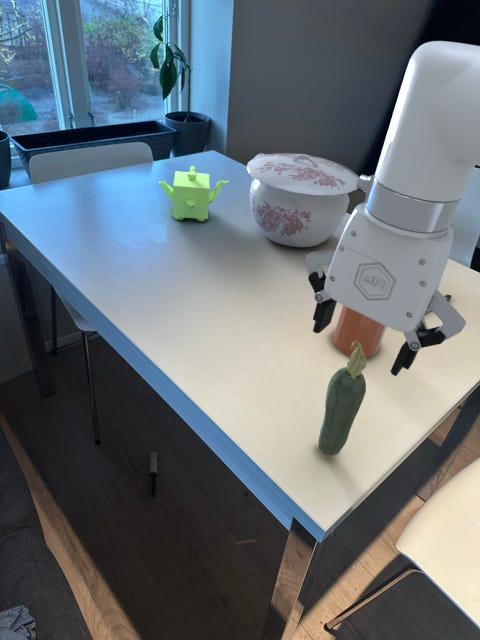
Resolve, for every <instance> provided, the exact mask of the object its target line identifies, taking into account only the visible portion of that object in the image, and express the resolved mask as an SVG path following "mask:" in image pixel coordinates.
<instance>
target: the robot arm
mask: <svg viewBox="0 0 480 640" xmlns="http://www.w3.org/2000/svg"><path fill="white" fill-rule="evenodd" d="M476 166H478V167H480V45H476V44H469V43H462V42H455V41H445V40H433V41H428V42H425V43H423V44H421V45H420V46H418V48H416V49H415V50H414V52H413V53H412V55H411V57H410V58H409V61H408V64H407V67H406V69H405V73H404V76H403V79H402V83H401V86H400V89H399V93H398V96H397V99H396V103H395V106H394V110H393V112H392V117H391V120H390V123H389V127H388V130H387V133H386V136H385V139H384V143H383V146H382V149H381V153H380V156H379V160H378V162H377V166H376V170H375V173H374V174H372V175H369V176H368V175H366V174H360V175H359V176H358V177H359V179H358V181H357V186H356V187H357V188H358V189H357V190H361V191H362V192H363V193H365V197H364V201H363V202H362V203H359V204H357V205H356V206H355V207H354V209H353V210H352V212H351V214H350V216H349V219H348V221H347V223H346V225H345V227H344V229H343V232H342V234H341V236H340V239H339V240H338V241H339V242H338V244H337V246H336V249H332V250H320V251H319V250H318V251H311V252H310V253H308V254H307V255H306V256H305V257H304V261H305V266H306V270H307V273H308V276H307V279H308V282H309V285H310V286H311V288H312V290H313V292H314V296H313V297H314V301H315V302H316V305H315V308H314V313H313V317H312V320H313V321H314V325H313V327H312V328H313V329H312V332H313V333H315V334H320V333H322V332H323V331H324V330H325V329H326V328H327V327H328V326H329V325H331V323H332V320H333V316H334V314H335V313H334V312H335V310H336V306H337V303H339V304H340V305H342V306H343V305H344V306H346V307H348V308H350V309H352V310H354V311H356V312H358V313H360V314H362V315H364V316H366V317H368V318H370V319H372V320H374V321H376V322H378V323H381V324H383V325H385V326H387V327H386V328H388V329H391V330H394V331H396V332H400V333H403V335H404V338H405V341H404V342H403V344H402V345H401V347H400V348H399V351H398V353H397V355H396V358H395V360H394V362H393V364H392V367H391V369H390V374H391V375H392V376H394V377H397V376H398V375H399V373H400V372H401V371H402V369H405V370H407V371H409V369H410V368H411V366H413V363H414V361H415V360H416V358H417V355H418V353H419V351H420V350H421V349H424V348H428V347H433V346H438V345H442V344H443V342H445V341H447V340H449V339H451V338H452V337H454V336H456V335H458V334H459V333H461V332H462V331H463V330H464V328H465V327H466V325H467V321H466V319H465V318H464V317H463V316H462V315H461V314H460V313H459V311H458V310H456V308H455V307H454V306H453V305H452V304H451V303H450V302H449V300H446V299H445V298H444V297H445V295H443V294H442V293H441V292H440V291H439V287H440V285H441V281H442V278H443V276H444V273H445V269H446V267H447V265H448V261H449V257H450V254H451V250H452V244H453V240H454V233H455V232H454V229H453V228H452V227H451V226H450V225H451V222H452V220H453V218H454V216H455V213H456V211H457V209H458V206H459V205H460V203H461V199H462V197H463V194H464V193H465V190H466V187H467V186H468V184H469V181H470V179H471V176H472V174H473V171H474V169H475V167H476ZM323 266H329V267H328V271H327V274H326V273H325V271H324V270H323ZM429 308H430V309H431V311H432V313H433V314H434V315H435V316H436V317H437V318H438V319H439V321H441V322H442V325H439V326H435V327H431V328H428V325H427V322H426V319H425V315H426V314H427V313H429V312H428V310H429Z"/></svg>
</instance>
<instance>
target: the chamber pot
mask: <svg viewBox="0 0 480 640" xmlns="http://www.w3.org/2000/svg"><path fill="white" fill-rule="evenodd" d="M246 170H247V171H248V173H249V175H250V179H251V184H250V190H249V207H250V208H249V209H250V214H251V216H252V218H253V220H254V222H255V224H256V227H257V228H258V230H259V232H260V233H261V234H262V235H263V236H264V237H265V238H266V239H268V240H269V241H271V242H274V243H276V244H279V245H283V246H287V247H292V248H293V247H294V248H310V247H315V246H318V245H320V244H322V243H324V242H326V241H327V240H328V239H329V238H330V237H331V236H332V235H333V234H334V233H336V231H337V230H338V229H339V228H340V227H341V224H342V222H343V220H344V218H345V216H346V214H347V212H348V209H349V205H350V202H351V200H350V196H349V193H350V194H351V192H353V191H356V190H359V189H358V188H357V187H356V186H357V181H358V179H359V177H360V176H359V175H358V174H357V173H356V172H354V171H353V170H352V169H351V168H349V167H346V166H344V165H343V164H341V163H338V162H336V161H333V160H330V159H327V158H324V157H319V156H315V155H311V154H305V153H295V152H278V153H267V154H265V153H263V152H262V153H259V154H256V155H255V157H253V158H252V159H251V160H249V161H247V165H246Z"/></svg>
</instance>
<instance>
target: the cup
mask: <svg viewBox="0 0 480 640" xmlns="http://www.w3.org/2000/svg"><path fill="white" fill-rule="evenodd" d="M387 328H388V327H387V326H385V325H383V324H381V323H378V322H376V321H374V320H372V319H370V318H368V317H366V316H364V315H362V314H360V313H358V312H356V311H354V310H352V309H350V308H348V307H346V306H344V305H342V306H341V310H340V313H339V317H338V320H337V324H336V327H335V330H334V335H333V339H332V341H333V344H334V346H335V347H336V348H337V350H339V351H340V352H341V353H342V354H344V355H346V356H348V357H351V354H352V353H353V352H354V350H355V348H352V349H350V347H351V346H352V343H353V341H358V342H359V343H360V344H361V345H362V351H363V353H364V354H365V358H366V359H369V358H372V357H373V356H375V355H376V354H377V353H378V350H379V348H380V346H381V343H382V341H383V338H384V335H385V332H386V330H387Z"/></svg>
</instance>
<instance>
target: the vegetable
mask: <svg viewBox="0 0 480 640" xmlns="http://www.w3.org/2000/svg"><path fill="white" fill-rule="evenodd" d="M352 348H355V350H354V352H353V353H352V354H351V356H349V359H348V361H347V363H346V366H342V367H340V368H339V369H337V370H336V372H335V373H334V374H333V375H332V376H331V378H330V380H329V382H328V386H327V390H326V395H325V407H324V408H325V410H324V416H323V421H322V425H321V428H320V431H319V436H318V441H317V446H318V449H319V450H320V451H321V453H323V454H324V455H326V456H328V457H332V456H336V455H337V454H339V453H340V452H341V450H342V449H343V447H344V446H345V445H346V443H347V441H348V438H349V435H350V431H351V429H352V427H353V424H354V421H355V419H356V416H357V415H358V412H359V410H360V409H361V405H362V404H363V402H364V398H365V395H366V393H367V392H366V391H367V383H366V382H367V381H366V378H365V376H364V374H363V370H364V369H365V368H366V366H367V358H365V354H364V353H363V351H362V345H361V344H360V343H359V342H358V341H353V343H352V346H351V347H350V349H352Z"/></svg>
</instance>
